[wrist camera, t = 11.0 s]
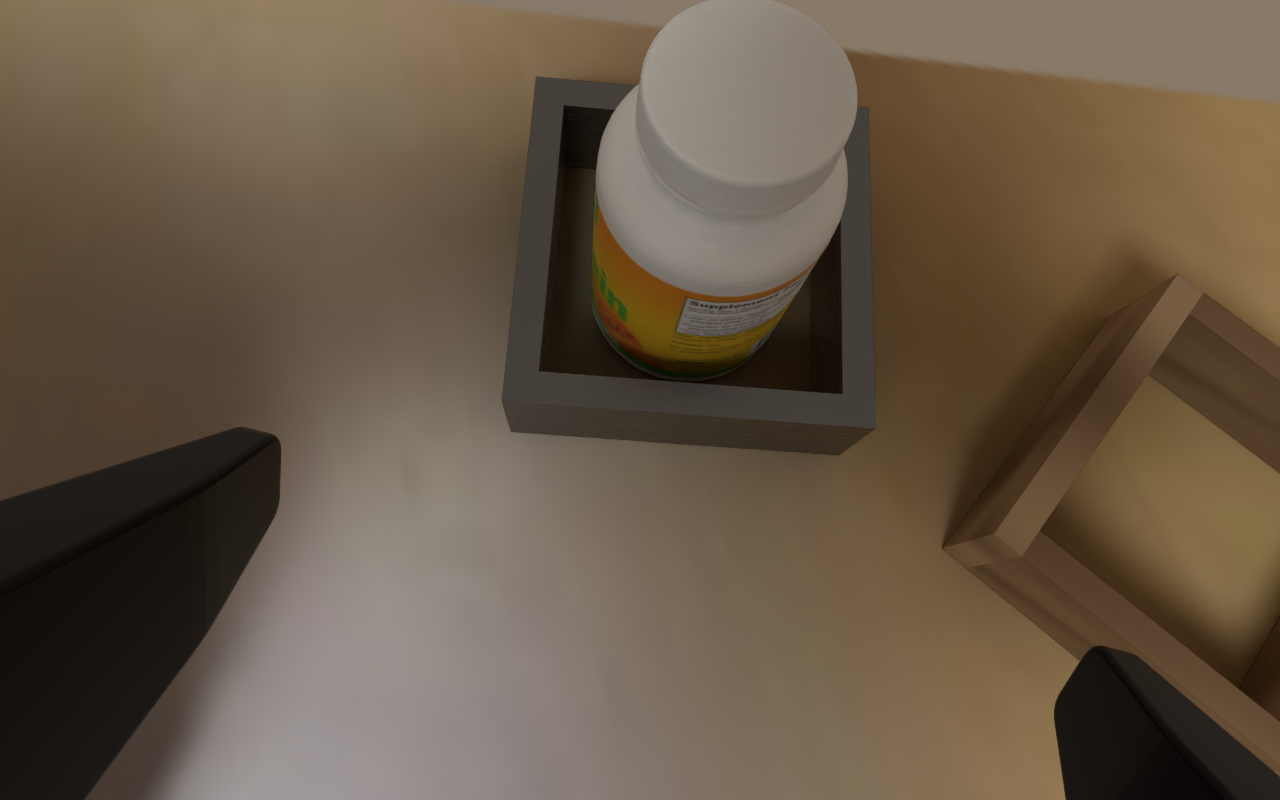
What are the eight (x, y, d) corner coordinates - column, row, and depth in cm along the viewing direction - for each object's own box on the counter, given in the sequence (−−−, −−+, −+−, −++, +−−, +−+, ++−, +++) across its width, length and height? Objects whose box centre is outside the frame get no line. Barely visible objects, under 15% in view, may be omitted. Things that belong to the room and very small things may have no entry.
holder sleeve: (1225, 779, 22) (1322, 798, 19) (942, 548, 23) (993, 533, 20) (1374, 514, 24) (1481, 496, 22) (1109, 315, 26) (1177, 273, 23)
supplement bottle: (574, 225, 25) (576, -25, 16) (753, 200, 26) (855, -53, 16) (607, 400, 24) (630, 240, 14) (794, 370, 24) (933, 198, 15)
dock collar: (839, 455, 24) (884, 422, 20) (510, 431, 23) (499, 393, 20) (836, 166, 26) (875, 93, 23) (540, 140, 26) (535, 61, 22)
